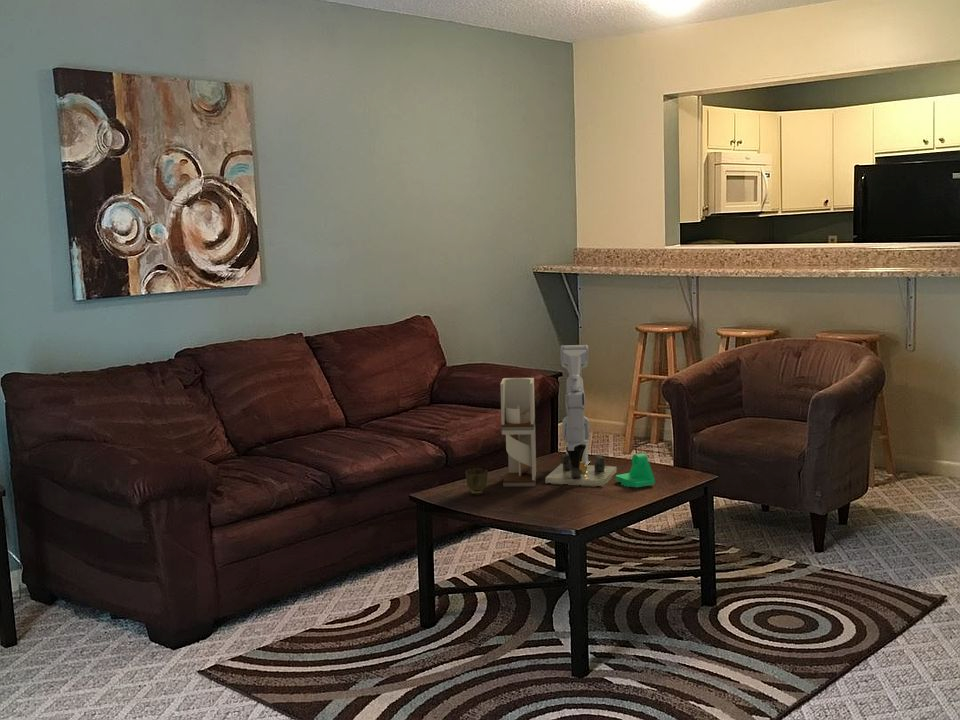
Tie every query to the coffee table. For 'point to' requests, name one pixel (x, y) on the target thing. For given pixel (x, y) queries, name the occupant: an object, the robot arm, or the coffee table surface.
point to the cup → (476, 480)
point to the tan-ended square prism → (576, 470)
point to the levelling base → (590, 474)
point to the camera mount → (637, 473)
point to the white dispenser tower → (519, 430)
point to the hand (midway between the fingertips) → (576, 466)
